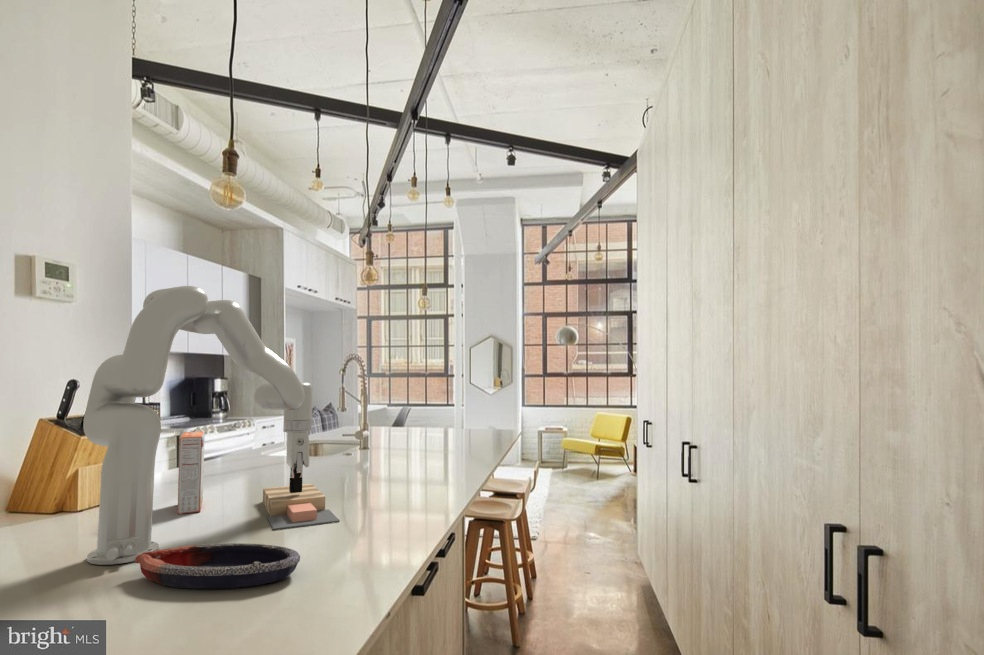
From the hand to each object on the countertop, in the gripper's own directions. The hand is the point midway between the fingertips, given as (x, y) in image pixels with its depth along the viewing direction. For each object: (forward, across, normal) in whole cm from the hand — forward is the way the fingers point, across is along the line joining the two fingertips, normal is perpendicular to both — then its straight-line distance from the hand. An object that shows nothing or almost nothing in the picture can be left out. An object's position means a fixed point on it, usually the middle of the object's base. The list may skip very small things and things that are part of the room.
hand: (295, 491), depth 155 cm
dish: (+5, -47, +21) cm, 52 cm away
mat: (+5, -12, 0) cm, 13 cm away
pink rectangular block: (+4, -10, 0) cm, 11 cm away
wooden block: (+5, +4, 0) cm, 6 cm away
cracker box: (+5, +16, +26) cm, 31 cm away
